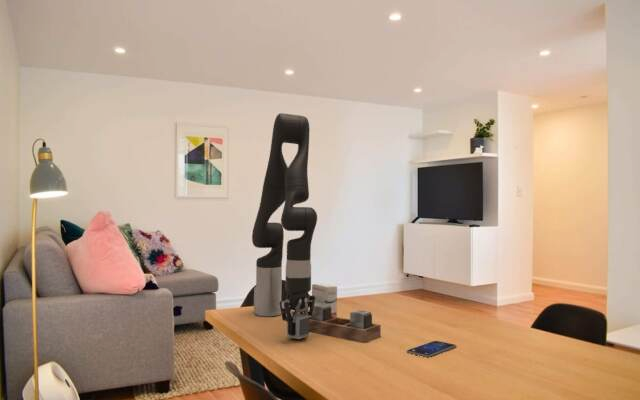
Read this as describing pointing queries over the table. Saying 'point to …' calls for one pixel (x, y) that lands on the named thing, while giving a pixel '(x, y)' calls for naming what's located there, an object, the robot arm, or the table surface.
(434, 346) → the smartphone
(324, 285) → the ink box
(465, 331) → the table surface
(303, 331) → the grey cube
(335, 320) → the wooden compartment tray
